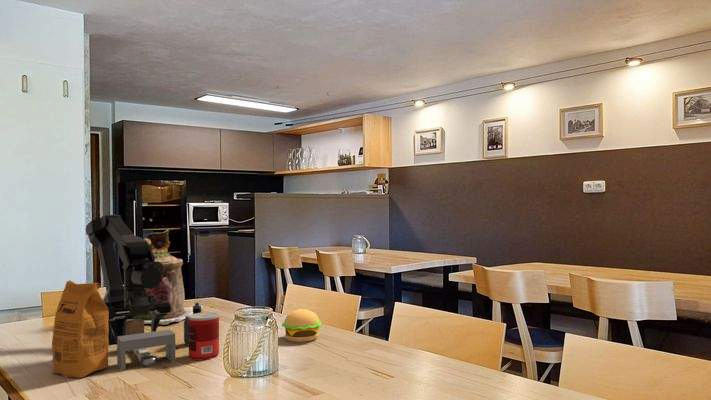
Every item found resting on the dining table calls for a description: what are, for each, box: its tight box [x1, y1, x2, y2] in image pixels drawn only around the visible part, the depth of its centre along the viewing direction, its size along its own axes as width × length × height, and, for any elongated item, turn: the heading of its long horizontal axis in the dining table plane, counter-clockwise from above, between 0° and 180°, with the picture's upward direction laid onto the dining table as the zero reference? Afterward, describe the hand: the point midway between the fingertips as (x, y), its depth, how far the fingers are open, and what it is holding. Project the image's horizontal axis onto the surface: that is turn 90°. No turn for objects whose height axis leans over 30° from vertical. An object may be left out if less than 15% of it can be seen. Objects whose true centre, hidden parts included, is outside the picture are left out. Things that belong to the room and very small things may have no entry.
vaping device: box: [183, 302, 202, 346], centre depth 149 cm, size 3×5×12 cm, turn 78°
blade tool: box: [126, 319, 151, 361], centre depth 139 cm, size 16×4×8 cm, turn 34°
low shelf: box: [116, 328, 176, 371], centre depth 132 cm, size 6×13×7 cm, turn 124°
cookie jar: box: [128, 229, 203, 326], centre depth 186 cm, size 25×25×32 cm
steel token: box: [139, 354, 158, 368], centre depth 130 cm, size 4×4×2 cm
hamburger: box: [281, 308, 322, 343], centre depth 155 cm, size 12×12×9 cm
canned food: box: [188, 311, 220, 361], centre depth 137 cm, size 8×8×11 cm
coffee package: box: [51, 280, 110, 379], centre depth 125 cm, size 10×12×22 cm
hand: (135, 340), depth 145 cm, fingers open, 9 cm apart
